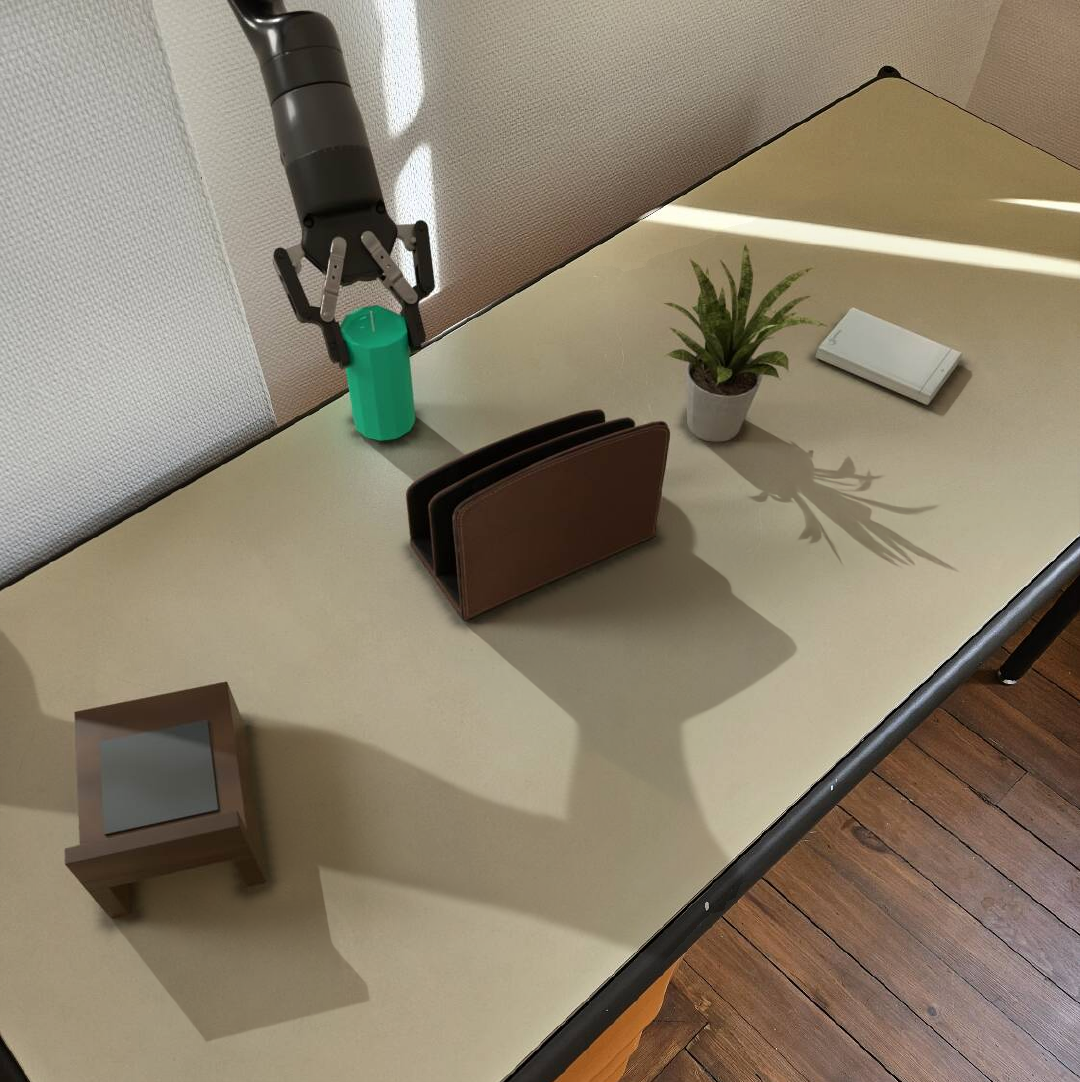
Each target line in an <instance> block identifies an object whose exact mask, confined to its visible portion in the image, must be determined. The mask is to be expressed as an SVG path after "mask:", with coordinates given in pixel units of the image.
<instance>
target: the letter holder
mask: <svg viewBox="0 0 1080 1082" xmlns="http://www.w3.org/2000/svg"><path fill="white" fill-rule="evenodd" d="M670 439H671V430H670V427H669V426H668V423H666V422H665V421H664V420H656V421H651V422H648V423H644V424H640V425H636V422H635V420H634V419H633V418H632V417H629V416H626V417H620V418H615V419H611V420H608V421H606V414H605V411H604V410H602V409H600V408H597V409H596V408H595V409H588V410H583V411H580V412H577V413H572V414H570V415H566V416H563V417H560V418H557V419H554V420H550V421H548V422H544V423H542V424H540V425H536V426H533V427H531V428H528V429H525V430H523V431H520V432H518V433H514V434H512V435H509V436H507V437H505V438H501V439H499V440H497V441H494V442H492V443H490V444H487V445H484V446H482V447H480V448H477V449H475V450H473V451H470V452H468V453H466V454H464V455H461V456H460V457H457V458H455V459H453V460H450V461H449V462H446V463H444V464H442V465H440V466H438V467H437V468H435V469H433V470H431V471H429V472H427V473H426V474H424V475H422V476H421V477H419V478H418V479H416V480H414V481H413V482H412V483H411V484H410V485H409V486H408V487H407V489H406V492H405V500H406V508H407V509H406V510H407V519H408V529H409V530H408V531H409V545H410V547H411V548H412V549H413V551H414V553H415V554H416V556H417V557H418V559H419V560H420V561H421V562H422V564H423V565H424V567H425V568H426V570H427V572H428V573H429V574H430V576H431V577H432V579H433V580H434V581H435V583H436V585H438V587H439V588H440V590H441V591H442V593H443V594H444V595H445V597H446V599H447V600H448V602H449V603H450V605H451V606H452V608H453V609H454V610H455V611H456V613H457V614H458V616H459V617H460V618H461V619H462V620H463V621H468V620H469V619H472V618H474V617H476V616H478V615H480V614H483V613H485V612H487V611H489V610H491V609H493V608H495V607H498V606H500V605H501V604H504V603H507V602H509V601H512V600H513V599H516V598H517V597H520V596H522V595H525V594H527V593H529V592H532V591H534V590H536V589H539V588H541V587H543V586H546V585H547V584H550V583H552V582H555V581H557V580H559V579H562V578H564V577H566V576H569V575H570V574H573V573H575V572H578V571H580V570H582V569H584V568H586V567H589V566H591V565H593V564H595V563H597V562H599V561H602V560H603V559H607V558H609V557H611V556H614V555H615V554H618V553H621V552H623V551H625V550H626V549H629V548H631V547H633V546H636V545H638V544H641V543H643V542H645V541H647V540H650V539H652V538H654V537H656V534H657V525H658V518H659V513H660V512H659V511H660V507H661V499H662V494H663V486H664V479H665V475H666V468H667V467H666V466H667V461H668V452H669V446H670Z"/></svg>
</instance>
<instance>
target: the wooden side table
mask: <svg viewBox="0 0 1080 1082" xmlns="http://www.w3.org/2000/svg"><path fill="white" fill-rule="evenodd" d="M73 713H74V714H73V715H74V737H75V760H76V761H75V762H76V787H77V788H76V791H77V813H78V814H77V815H78V839H79V840H78V841H79V844H77V845H73V846H69V847H64V850H63V851H64V865H65V867H66V868H67V869H68V870H69V871H70V873H71V874H72V875H73V876H74V877H75V878H76V879H77V881H78V882H79V883H80V884H81V886H82V887H83V888H84V889H85V891H87V893H89V895H90V896H91V897H92V898H93V900H94V901H95V902H96V903H97V904H98V906H99V907H100V908H101V909H102V910H103V912H104V913H105V914H106V915H107V917H109V919H113V918H118V917H122V916H127V915H131V904H130V887H129V884H131V883H135V882H139V881H144V880H149V879H153V878H157V877H162V876H165V875H171V874H175V873H180V872H184V871H188V870H189V871H190V870H194V869H198V868H201V867H206V866H209V865H215V864H219V863H225V862H228V861H232V860H233V862H234V864H235V866H236V867H237V869H238V871H239V874H240V875H241V877H242V880H243V881H244V883H245V885H246V886H247V887H253V886H256V885H260V884H265V883H267V875H266V869H265V859H264V854H263V853H264V852H263V846H262V839H261V833H260V825H259V819H258V811H257V804H256V797H255V790H254V783H253V776H252V769H251V760H250V755H249V748H248V740H247V731H246V726H245V722H244V720H243V717H242V715H241V713H240V710H239V707H238V705H237V702H236V700H235V697H234V695H233V693H232V689H231V687H230V685H229V681H228V680H227V681H222V682H216V683H212V684H208V685H207V684H206V685H201V686H197V687H192V688H186V689H182V690H177V691H171V692H166V693H162V694H156V695H151V696H147V697H141V698H137V699H136V698H135V699H132V700H128V701H121V702H117V703H112V704H106V705H101V706H97V707H96V706H95V707H91V708H87V709H82V710H81V709H80V710H77V711H74V712H73Z"/></svg>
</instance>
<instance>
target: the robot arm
mask: <svg viewBox="0 0 1080 1082" xmlns="http://www.w3.org/2000/svg"><path fill="white" fill-rule="evenodd" d="M226 2H227V4H228V6H229V7H230V10H231V11H232V13H233V15H234V17H235V18H236V21H237V22H238V24H239V27H240V28H241V30H242V32H243V34H244V36H245V38H246V40H247V41H248V43H249V45H250V48H251V49H252V51H253V54H254V55H255V57H256V59H257V61H258V65H259V70H260V73H261V78H262V81H263V85H264V88H265V92H266V96H267V100H268V104H269V107H270V110H271V115H272V120H273V127H274V132H275V133H274V134H275V138H276V142H277V146H278V150H279V158H280V162H281V165H282V166H283V168H284V172H285V175H286V178H287V179H286V180H287V182H288V186H289V190H290V193H291V196H292V197H291V198H292V200H293V205H294V207H295V211H296V216H297V218H298V222H299V225H300V229H301V239H300V243H299V244H298V243H297V244H296V245H293V246H290V247H287V248H284V247H281V246H280V247H276V248H275V250H274V251H273V256H272V265H273V267H274V270H275V271H276V274H277V277H278V279H279V281H280V284H281V285H282V289H283V290H284V292H285V295H286V297H287V299H288V302H289V304H290V307H291V309H292V311H293V314H294V316H295V318H296V320H297V321H298V322H299V323H300V324H310V325H311V324H312V325H315V326H318V327H319V328H320V330H321V333H322V337H323V340H324V343H325V347H326V350H327V354H328V358H329V360H330V362H332V364H333V365H334V364H338V367H339V369H340V370H343V369H345V370H346V368H348V367H349V366H350V362H349V358H348V354H347V350H346V347H345V343H344V340H343V336H342V332H341V329H340V325H341V324H340V322H339V321H336V317H335V315H336V311H337V310H336V309H337V304H338V299H339V298H338V297H339V293H340V287H342V288H344V287H349V286H352V285H354V284H355V283H358V282H372V281H376V280H377V279H378V281H379V282H380V284H381V285H383V287H384V288H385V290H388V291H389V293H390V294H391V295H392V296H393V298H394V299H395V300H396V301H397V302H398V304H399V305H400V307H401V310H400V311H399V315H401V316H403V317H404V319H405V323H406V328H407V333H408V344H409V353H410V354H417V353H420V352H421V351H422V349H423V347H422V345H423V344H424V343H425V342H426V337H427V335H426V330H425V327H424V324H423V320H422V315H421V312H420V311H421V310H420V307H419V306H420V305H419V304H420V302H421V301H423V300H424V299H426V298H428V297H430V295H431V293H433V292H434V290H435V288H436V281H435V274H434V264H433V255H432V249H431V247H432V246H431V241H430V239H431V238H430V232H429V225H428V223H427V221H425V220H423V219H419V220H416V221H415V222H414V223H407V224H405V223H403V224H396V223H395V221H394V220H393V219H392V218H391V216H390V214H389V212H388V210H387V207H386V203H385V199H384V194H383V191H382V188H381V184H380V179H379V176H378V172H377V169H376V163H375V160H374V156H373V153H372V149H371V145H370V140H369V137H368V134H367V129H366V125H365V122H364V118H363V115H362V112H361V110H360V108H359V106H358V102H357V99H356V97H355V94H354V91H353V87H352V82H351V79H350V76H349V71H348V67H347V64H346V60H345V56H344V52H343V48H342V43H341V41H340V37H339V34H338V31H337V29H336V27H335V25H334V24H333V22H332V20H331V19H330V18H329V17H328V16H327V15H325V14H323V13H322V12H319V11H316V10H309V9H300V10H293V11H288V10H287V8H286V5H285V1H284V0H226ZM397 240H400V241H401V242H402V243H403V247H404V249H405V250H406V251H408V252H410V253H412V261H413V271H414V278H415V285H414V286H412V285H411V284H410V282H409V281H408V280H407V278H406V277H405V276H404V274H403V272H402V270H401V268H400V267H399V266H398V264H396V262H395V261H394V259H393V258H392V257H391V256H392V255H391V254H392V252H393V249H394V247H395V244H396V241H397ZM303 258H305V259H306V260H307V261H308V262H309V263H311V265H313V266H314V267H315V268H316V269H317V270H318V271H319V272H321V273H322V274H323V275H324V278H323V284H322V291H321V298H320V304H319V306H315V305H311V304H310V302H309V299H308V297H307V295H306V293H305V290H304V288H303V285H302V282H301V281H300V277H299V276H298V275H299V274H300V273H301V271H302V262H301V261H302V259H303Z"/></svg>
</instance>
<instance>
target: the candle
mask: <svg viewBox="0 0 1080 1082" xmlns="http://www.w3.org/2000/svg"><path fill="white" fill-rule="evenodd" d="M339 325H340V329H341V332H342V336H343V340H344V343H345V347H346V350H347V354H348V358H349V362H350V366H349V367H348V368H345V372H346V379H347V386H348V392H349V400H350V405H351V406H350V407H351V411H352V412H351V413H352V417H353V423H354V428H355V430H357V431H358V432H359V433H360V434H361V435H362V436H363V437H365V438H368V439H371V440H376V441H380V442H381V441H389V440H396V439H399V438H401V437H402V436H404V435H405V434H408V433H409V432H410V431H411V429H412V428H413V426H414V424H415V422H416V411H415V400H414V399H415V398H414V389H413V377H412V369H411V368H412V367H411V355H410V349H409V344H408V333H407V328H406V323H405V319H404V317H403V316H401V314H400V313H397V312H395V311H393V310H391V309H388V308H385V307H383V306H380V305H378V304H374V305H368V306H363V307H359V308H356V309H355V310H354V311H352V312H350V313H348V314H346V315H345V317H344V318H343V319H342V322H341V323H340V324H339Z"/></svg>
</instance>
